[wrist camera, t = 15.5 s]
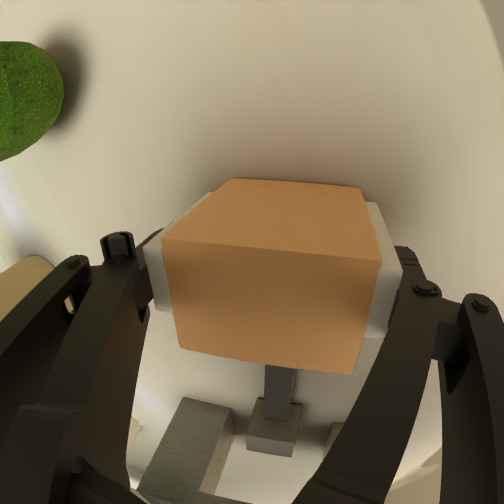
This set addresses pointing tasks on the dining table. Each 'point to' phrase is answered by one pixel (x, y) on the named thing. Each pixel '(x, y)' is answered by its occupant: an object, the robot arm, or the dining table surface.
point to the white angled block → (133, 432)
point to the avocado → (27, 96)
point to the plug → (274, 287)
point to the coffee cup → (23, 282)
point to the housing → (195, 456)
